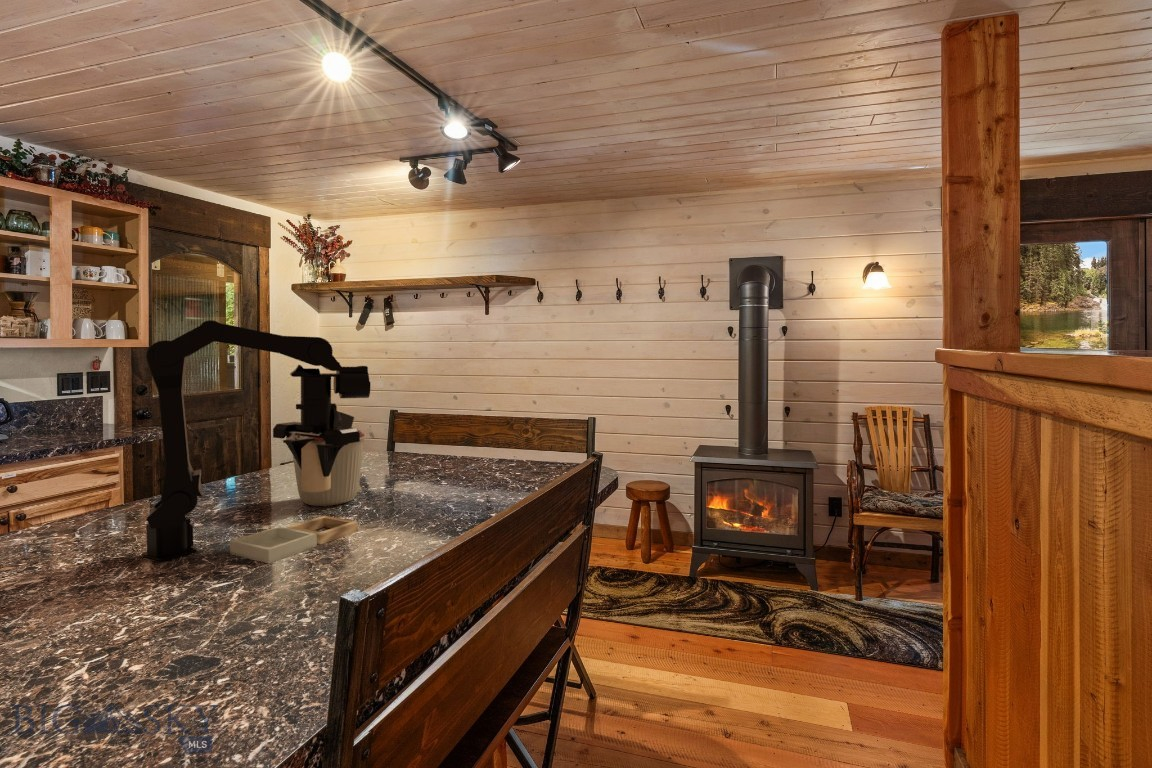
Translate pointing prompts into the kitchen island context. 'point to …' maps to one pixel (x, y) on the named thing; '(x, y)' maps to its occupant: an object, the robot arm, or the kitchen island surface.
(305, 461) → the candle
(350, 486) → the canister
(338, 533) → the tan shallow square box
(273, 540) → the parts tray
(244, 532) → the kitchen island surface
